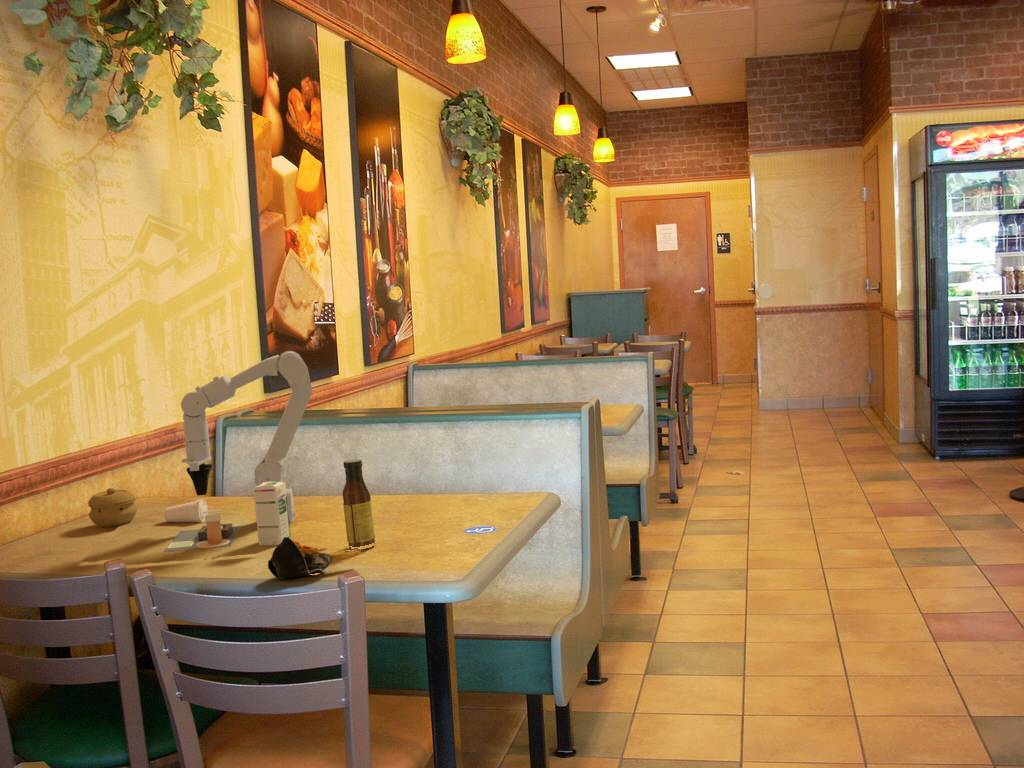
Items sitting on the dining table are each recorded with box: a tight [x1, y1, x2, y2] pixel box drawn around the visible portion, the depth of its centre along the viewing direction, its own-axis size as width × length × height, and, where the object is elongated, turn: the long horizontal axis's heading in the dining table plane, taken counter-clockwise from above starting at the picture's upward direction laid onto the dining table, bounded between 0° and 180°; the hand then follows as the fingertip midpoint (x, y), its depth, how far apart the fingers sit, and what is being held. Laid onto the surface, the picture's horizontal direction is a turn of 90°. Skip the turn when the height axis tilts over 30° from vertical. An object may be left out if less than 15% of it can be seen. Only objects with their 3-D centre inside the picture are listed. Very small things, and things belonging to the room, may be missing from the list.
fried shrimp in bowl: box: [267, 537, 362, 579], centre depth 220 cm, size 9×11×18 cm
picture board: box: [163, 525, 243, 553], centre depth 254 cm, size 15×20×1 cm
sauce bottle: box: [342, 458, 376, 547], centre depth 238 cm, size 6×6×20 cm
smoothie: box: [164, 498, 220, 523], centre depth 274 cm, size 6×6×14 cm
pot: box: [87, 487, 138, 528], centre depth 277 cm, size 12×12×10 cm
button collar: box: [198, 523, 234, 541], centre depth 255 cm, size 7×7×2 cm
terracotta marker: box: [204, 513, 222, 545], centre depth 248 cm, size 4×4×6 cm
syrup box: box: [252, 480, 292, 546], centre depth 245 cm, size 6×6×14 cm
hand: (202, 494), depth 263 cm, fingers closed
